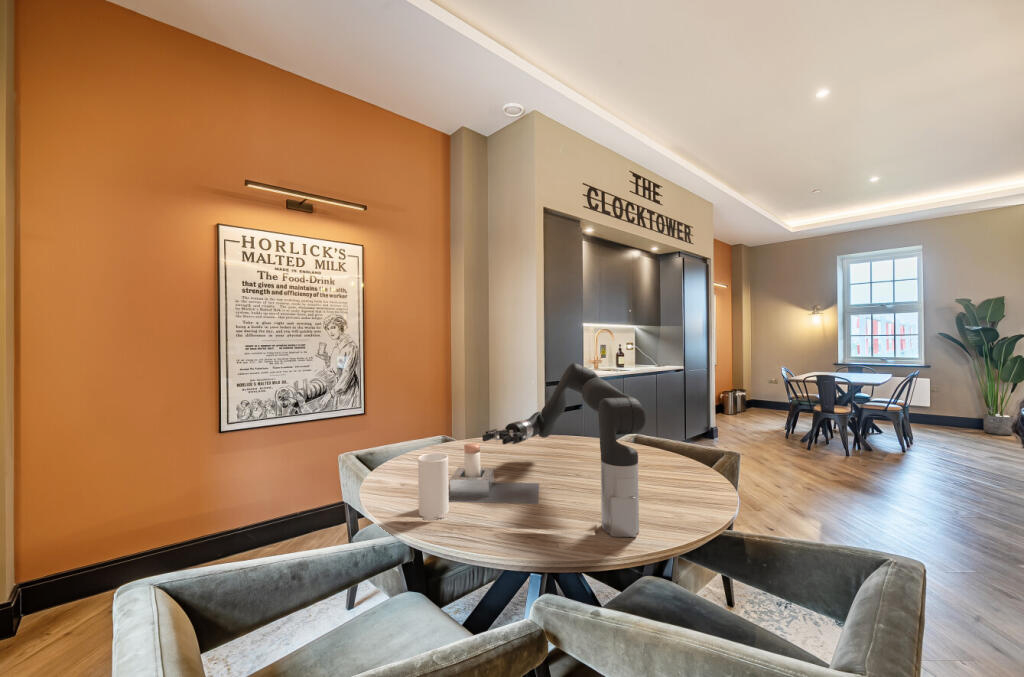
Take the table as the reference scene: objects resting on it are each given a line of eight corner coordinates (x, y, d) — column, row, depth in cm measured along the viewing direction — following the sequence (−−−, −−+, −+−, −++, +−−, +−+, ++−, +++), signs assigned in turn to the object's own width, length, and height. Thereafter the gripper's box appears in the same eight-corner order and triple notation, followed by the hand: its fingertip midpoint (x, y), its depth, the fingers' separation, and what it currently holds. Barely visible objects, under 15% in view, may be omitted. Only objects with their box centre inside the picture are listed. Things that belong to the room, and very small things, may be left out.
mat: (538, 507, 117) (538, 503, 117) (443, 505, 119) (443, 501, 119) (538, 486, 134) (538, 483, 134) (455, 484, 136) (455, 481, 136)
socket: (488, 496, 123) (488, 480, 123) (449, 495, 124) (449, 479, 124) (493, 482, 135) (493, 467, 135) (458, 482, 136) (458, 467, 136)
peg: (479, 491, 127) (478, 447, 127) (463, 491, 127) (463, 447, 127) (481, 485, 132) (480, 443, 132) (466, 486, 132) (465, 443, 132)
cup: (445, 506, 118) (444, 451, 118) (451, 517, 111) (451, 459, 111) (416, 511, 115) (416, 454, 115) (421, 523, 108) (420, 462, 108)
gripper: (503, 419, 156) (476, 426, 142) (535, 423, 148) (510, 430, 134) (503, 439, 155) (477, 448, 142) (535, 443, 147) (510, 453, 134)
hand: (493, 439), depth 138 cm, fingers open, 8 cm apart
